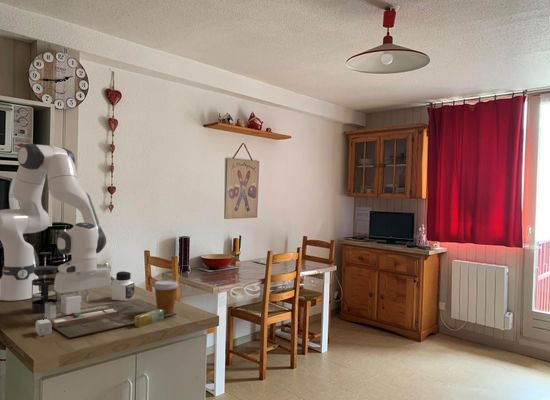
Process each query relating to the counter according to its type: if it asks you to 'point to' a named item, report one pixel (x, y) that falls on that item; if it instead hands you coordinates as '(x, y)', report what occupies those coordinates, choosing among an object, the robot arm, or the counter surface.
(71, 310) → the block
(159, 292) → the disposable coffee cup
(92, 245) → the robot arm
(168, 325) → the counter surface
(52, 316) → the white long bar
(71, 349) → the counter surface
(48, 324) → the usb wall charger
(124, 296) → the medicine bottle
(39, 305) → the french press
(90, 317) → the gauge board
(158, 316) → the medication box
